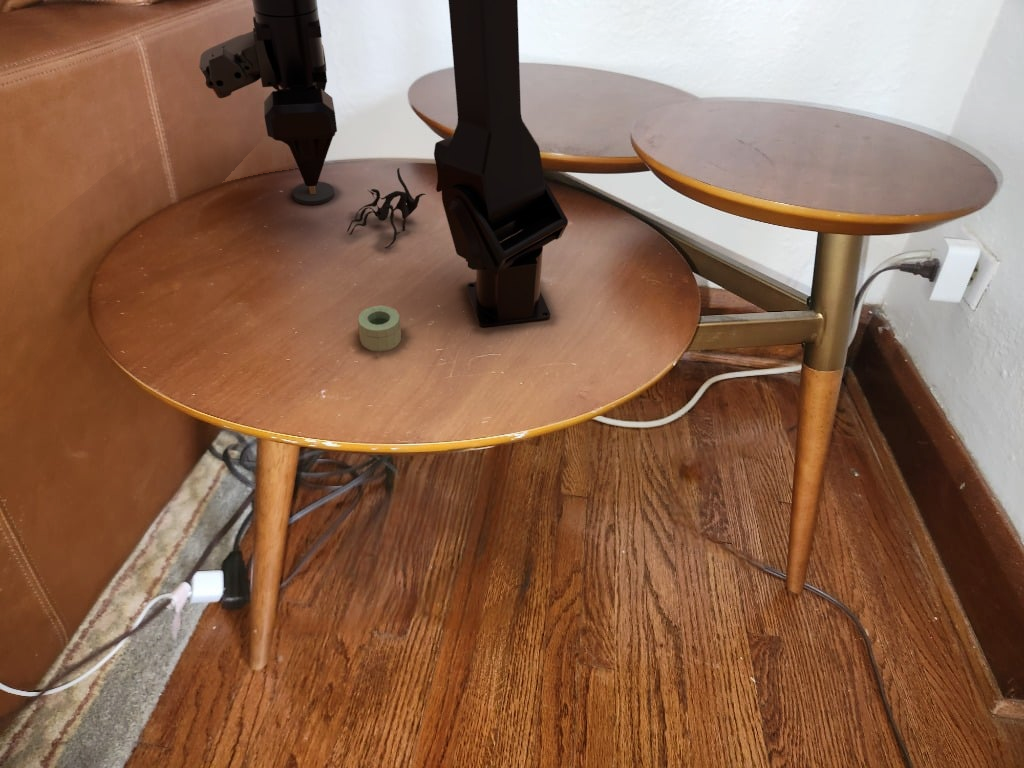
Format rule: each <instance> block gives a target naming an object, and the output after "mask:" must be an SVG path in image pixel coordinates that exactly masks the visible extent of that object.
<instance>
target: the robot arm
mask: <svg viewBox="0 0 1024 768" xmlns="http://www.w3.org/2000/svg"><path fill="white" fill-rule="evenodd" d="M518 2H519V1H518V0H448V11H449V23H450V36H451V48H452V49H451V50H452V61H453V73H454V87H455V95H456V96H455V101H456V111H457V112H456V113H457V123H456V126H455V129H454V131H453V133H452V135H451V136H449V137H446V138H444V139H441V140H439V141H437V142H435V143H434V151H433V157H434V162H435V166H436V172H437V173H436V174H437V182H436V186H435V190H436V193H440V192H441V202H442V206H443V209H444V212H445V217H446V220H447V221H446V222H447V224H448V227H449V231H450V235H451V238H452V242H453V246H454V249H455V252H456V254H457V256H459V257H460V258H463V259H464V260H465V262H467V268H468V269H470V270H473V271H475V273H476V274H475V281H472V282H468V283H466V292H467V295H468V298H469V301H470V303H471V306H472V309H473V312H474V316H475V318H476V319H475V320H476V321H477V324H478V327H480V328H482V329H488V328H489V329H490V328H496V327H505V326H512V325H520V324H528V323H538V322H546V321H549V320H550V319H551V314H552V313H551V311H550V308H549V307H548V305H547V302H546V301H545V298H544V296H543V294H542V292H541V282H542V281H541V280H542V266H543V253H544V252H543V251H544V246H546V245H548V244H550V243H551V242H553V241H556V240H559V239H561V238H562V237H563V234H564V232H565V230H566V228H567V226H568V224H569V220H568V218H567V215H566V214H565V212H564V211H563V208H562V207H561V206H560V203H559V201H558V200H557V198H556V197H555V195H554V193H553V191H552V189H551V188H550V186H549V184H548V182H547V180H546V179H545V177H544V170H543V162H542V157H541V156H542V155H541V150H540V145H539V144H538V142H537V141H536V139H535V137H534V135H532V132H531V131H530V130H529V128H528V126H527V125H526V123H525V122H524V120H523V118H522V106H521V105H522V104H521V74H520V73H521V71H520V39H519V37H520V36H519V34H520V33H519V7H518V5H519V4H518ZM252 5H253V13H254V16H253V17H252V22H253V28H252V30H251V31H249V32H247V33H244V34H240V35H237V36H235V37H232V38H230V39H228V40H226V41H223V42H221V43H219V44H217V45H214V46H212V47H210V48H207V49H206V50H204V51H203V52H202V53H201V54H200V59H199V64H198V65H199V66H198V68H199V70H200V71H201V73H202V74H203V76H204V78H205V85H206V86H205V87H207V88H208V89H211V90H212V91H213V92H214V93H215V95H216V97H217V98H218V99H224V98H227V97H229V96H231V95H232V93H233V92H235V91H238V90H240V89H243V88H244V87H247V86H249V85H251V84H252V85H253V84H254V83H256V82H259V80H260V81H261V87H262V88H273V89H274V91H273V90H272V91H271V92H270V93H269V95H268V96H267V97H266V98H265V99H264V101H263V111H264V112H263V115H264V116H263V117H264V123H265V128H266V133H267V137H269V138H272V139H273V140H274V141H280V142H282V143H284V144H286V145H287V146H288V148H289V149H290V152H291V154H292V157H293V158H294V161H295V163H296V166H297V168H298V171H299V173H300V175H301V178H302V180H303V182H304V183H305V185H306V186H308V187H309V186H316V185H317V184H318V182H319V181H320V177H321V175H322V171H323V167H324V164H325V162H326V158H327V155H328V152H329V150H330V147H331V144H332V141H333V138H334V137H335V136H336V133H337V132H338V127H337V119H336V112H335V111H336V110H335V107H334V105H335V104H334V100H333V97H332V96H331V95H329V94H328V93H327V92H326V87H327V83H328V77H327V62H326V54H325V48H324V45H323V40H322V38H323V35H322V27H321V21H320V15H319V8H318V0H252Z"/></svg>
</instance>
